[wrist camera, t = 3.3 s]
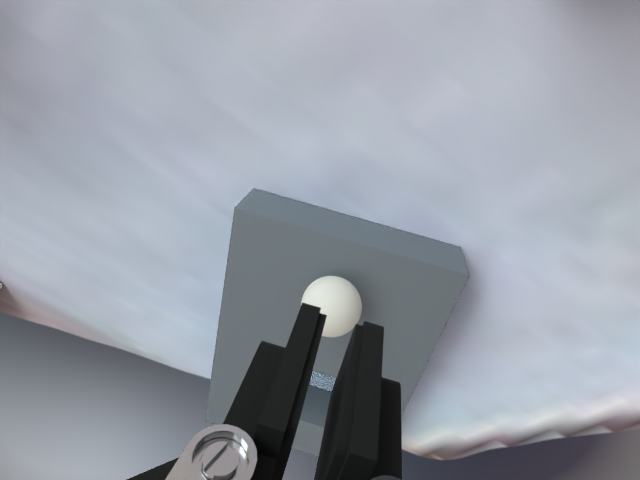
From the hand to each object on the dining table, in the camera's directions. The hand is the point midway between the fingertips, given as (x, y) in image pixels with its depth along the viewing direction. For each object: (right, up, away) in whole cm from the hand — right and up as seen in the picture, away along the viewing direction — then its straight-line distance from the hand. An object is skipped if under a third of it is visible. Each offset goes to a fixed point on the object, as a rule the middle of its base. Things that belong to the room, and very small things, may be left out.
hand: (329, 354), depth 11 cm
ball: (0, -1, +15) cm, 15 cm away
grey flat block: (0, -5, +24) cm, 24 cm away
